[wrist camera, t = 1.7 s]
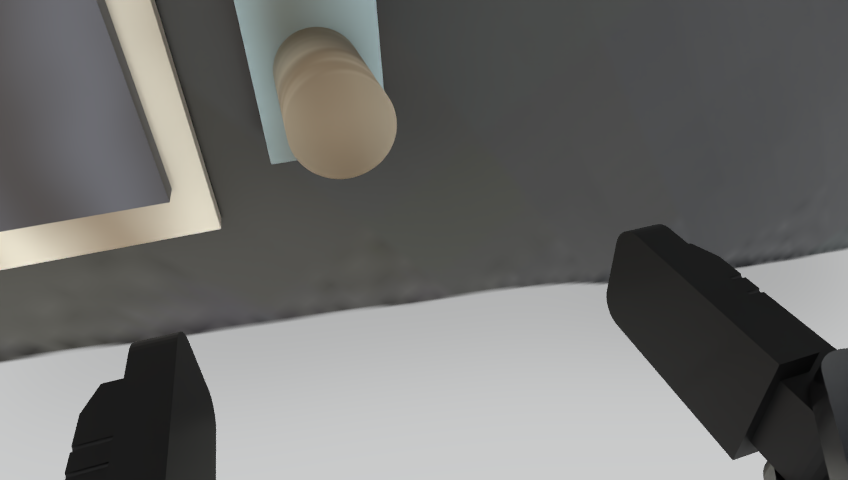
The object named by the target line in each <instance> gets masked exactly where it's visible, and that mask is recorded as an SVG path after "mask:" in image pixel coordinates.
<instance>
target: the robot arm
mask: <svg viewBox="0 0 848 480" xmlns="http://www.w3.org/2000/svg"><path fill="white" fill-rule="evenodd" d="M607 304H608V308H609V311H610V314H611V316H612V318H613V319H614V321H615V323H616V324H617V325H618V326H619V328H620V329H621V330H622V331H623V332H624V333H625V335H627V337H628V338H629V339H630V340H631V342H632V343H633V344H634V345H635V346H636V347H637V349H638V350H639V351H640V352H641V353H642V354H643V356H644V357H645V358H646V359H647V360H648V361H649V363H650V364H651V365H652V366H653V367H654V368H655V370H656V371H657V372H658V373H659V374H660V375H661V377H662V378H663V379H664V380H665V381H666V382H667V384H668V385H669V386H670V387H671V388H672V389H673V391H674V392H675V393H676V394H677V395H678V396H679V398H680V399H681V400H682V401H683V402H684V403H685V405H686V406H687V407H688V408H689V409H690V410H691V412H692V413H693V414H694V415H695V416H696V418H697V419H698V420H699V421H700V422H701V423H702V424H703V426H704V427H705V428H706V429H707V430H708V432H710V434H711V435H712V436H713V437H714V439H715V440H716V441H717V442H718V443H719V444H720V446H721V447H722V448H723V449H724V450H725V451H726V453H727V454H728V455H729V456H730V457H731V458H732V459H733V460H735V459H737V458H740V457H743V456H746V455H749V454H752V453H755V452H758V451H759V452H760V453H761V454H762V455H763V456H764V457H765V458H766V460H767V462H766V464H765V466H764V470H763V477H764V480H848V348H846V349H838V350H837V349H835V348H834V347H832V346H831V345H830V344H829V343H827V342H826V341H825V340H823V339H822V338H821V337H820V336H819V335H817V334H816V333H815V332H814V331H812V330H811V329H810V328H808V327H807V326H806V325H805V324H803V323H802V322H801V321H800V320H798V319H797V318H796V317H795V316H793V315H792V314H791V313H790V312H788V311H787V310H786V309H785V308H783V307H782V306H781V305H779V304H778V303H777V302H776V301H775V300H773V299H772V298H771V297H769V296H768V295H767V294H766V293H764V292H762V293H761V292H760V291H759V288H758V287H757V286H756V285H754V284H753V283H752V282H750V281H749V280H748V279H747V278H742V277H741V274H740V273H739V272H738V271H737V270H735V269H734V268H733V267H732V266H730V265H729V264H728V263H727V262H725V261H724V260H723V259H722V258H720V257H719V256H717V255H715V254H713V253H710V252H708V251H706V250H704V249H702V248H700V247H697V246H695V245H693V244H688V243H686V242H685V241H684V240H683V239H682V238H680V237H679V236H678V235H677V234H675V233H674V232H673V231H672V230H671V229H669V228H668V227H667V226H664V225H661V224H657V225H652V226H648V227H644V228H639V229H635V230H631V231H626V232H623V233H622V234H620V236H619V237H618V239H617V243H616V248H615V253H614V258H613V263H612V268H611V273H610V278H609V283H608V289H607ZM72 450H73V451H72V452H71V453H70V455H69V459H68V463H67V467H66V471H65V475H66V480H216V422H215V414H214V408H213V403H212V399H211V396H210V393H209V390H208V387H207V385H206V383H205V381H204V378H203V375H202V373H201V370H200V368H199V366H198V363H197V361H196V358H195V356H194V354H193V351H192V348H191V346H190V343H189V341H188V339H187V337H186V335H185V334H184V333H183V332H177V333H173V334H169V335H164V336H160V337H155V338H151V339H147V340H142V341H138V342H134V343H132V344H131V346H130V348H129V353H128V359H127V364H126V370H125V375H124V378H123V379H119V380H115V381H111V382H107V383H103V384H101V385H100V386H99V388H98V389H97V391H96V392H95V393H94V395H93V396H92V398H91V399H90V400H89V402H88V403H87V405H86V406H85V408H84V409H83V410H82V412H81V413H80V415H79V419H78V423H77V427H76V431H75V435H74V439H73V443H72Z"/></svg>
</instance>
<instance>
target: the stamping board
mask: <svg viewBox="0 0 848 480" xmlns="http://www.w3.org/2000/svg"><path fill="white" fill-rule="evenodd" d="M218 229H221V216H220V213H219V209H218V206H217V203H216V199H215V196H214V193H213V190H212V186H211V183H210V180H209V177H208V173H207V170H206V167H205V163H204V160H203V157H202V154H201V150H200V147H199V144H198V141H197V137H196V134H195V131H194V127H193V124H192V121H191V118H190V114H189V111H188V108H187V104H186V101H185V98H184V95H183V91H182V88H181V85H180V82H179V78H178V75H177V72H176V68H175V65H174V62H173V59H172V55H171V52H170V49H169V46H168V42H167V39H166V36H165V32H164V29H163V26H162V23H161V19H160V16H159V13H158V9H157V6H156V3H155V0H0V270H4V269H9V268H15V267H20V266H25V265H31V264H36V263H41V262H47V261H52V260H57V259H63V258H68V257H73V256H79V255H84V254H89V253H95V252H100V251H105V250H111V249H116V248H121V247H127V246H132V245H137V244H143V243H148V242H153V241H159V240H164V239H169V238H175V237H180V236H186V235H191V234H196V233H202V232H207V231H212V230H218Z"/></svg>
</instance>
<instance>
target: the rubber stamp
mask: <svg viewBox="0 0 848 480" xmlns="http://www.w3.org/2000/svg"><path fill="white" fill-rule="evenodd" d="M234 4H235V8H236V12H237V17H238V21H239V26H240V30H241V34H242V39H243V43H244V48H245V52H246V56H247V61H248V65H249V69H250V74H251V78H252V83H253V87H254V91H255V96H256V100H257V104H258V109H259V113H260V118H261V122H262V126H263V131H264V135H265V139H266V144H267V148H268V153H269V157H270V161H271V164H277V163H283V162H289V161H295V160H298V161H299V162H300V163H301V164H302V165H303V166H304V167H305V168H307V169H308V170H309V171H311V172H313V173H315V174H317V175H320V176H322V177H326V178H332V179H347V178H352V177H357V176H359V175H362V174H364V173H366V172H368V171H370V170H371V169H373V168H375V167H376V166H377V165H378V164H379V163H380V162H381V161H382V160H383V159H384V158H385V157H386V155H387V154H388V153H389V151H390V149H391V147H392V145H393V143H394V140H395V136H396V130H397V119H396V113H395V110H394V107H393V105H392V102H391V101H390V99H389V97H388V96H387V94H386V93H385V91H384V87H383V75H382V64H381V52H380V41H379V29H378V18H377V6H376V0H234Z"/></svg>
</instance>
